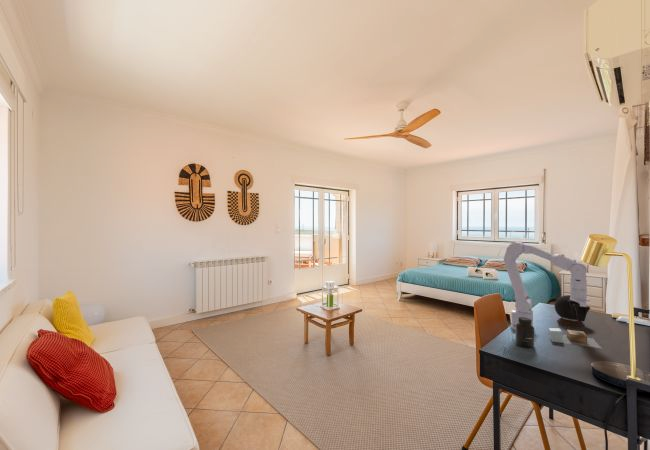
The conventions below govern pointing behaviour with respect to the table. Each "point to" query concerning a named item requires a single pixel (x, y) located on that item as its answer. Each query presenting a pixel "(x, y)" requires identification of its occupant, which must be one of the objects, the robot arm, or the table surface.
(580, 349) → the table surface
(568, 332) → the walnut block
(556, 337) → the pale grey small block
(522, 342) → the supplement bottle
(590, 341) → the mat
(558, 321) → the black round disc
